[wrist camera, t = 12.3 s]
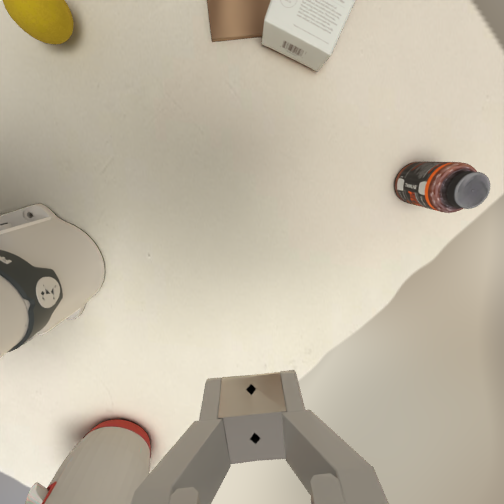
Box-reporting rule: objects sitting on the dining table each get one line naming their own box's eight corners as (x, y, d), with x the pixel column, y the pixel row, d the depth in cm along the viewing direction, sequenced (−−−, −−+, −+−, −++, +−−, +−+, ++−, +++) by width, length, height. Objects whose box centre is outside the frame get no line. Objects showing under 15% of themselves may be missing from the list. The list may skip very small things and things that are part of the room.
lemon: (40, -7, 33) (-20, -57, 25) (88, 9, 34) (43, -35, 26) (38, 46, 35) (-19, 13, 27) (84, 60, 35) (40, 32, 28)
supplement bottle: (385, 193, 42) (434, 204, 31) (406, 154, 40) (467, 152, 29) (418, 209, 42) (477, 225, 32) (441, 171, 41) (511, 175, 30)
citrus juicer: (95, 392, 51) (8, 527, 32) (175, 432, 55) (140, 575, 36) (58, 443, 55) (-40, 591, 36) (135, 478, 59) (84, 629, 40)
